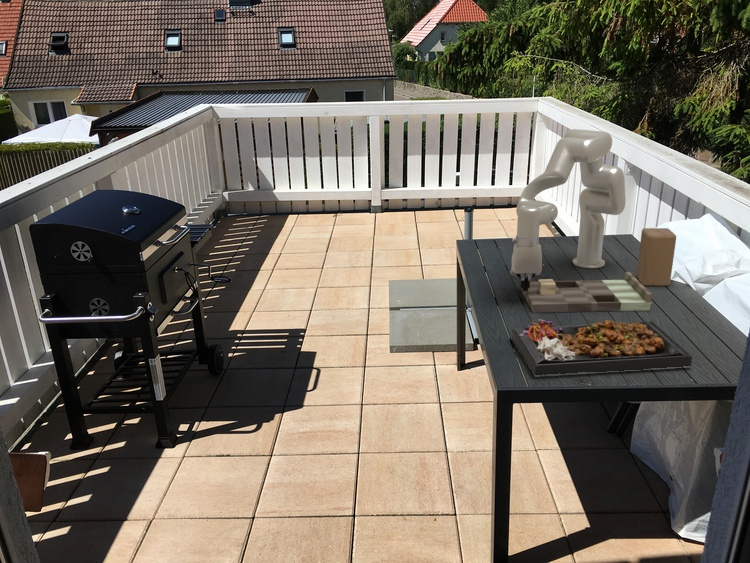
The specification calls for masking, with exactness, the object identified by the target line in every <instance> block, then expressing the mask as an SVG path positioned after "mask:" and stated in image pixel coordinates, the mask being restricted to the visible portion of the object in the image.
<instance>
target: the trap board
mask: <svg viewBox="0 0 750 563" xmlns="http://www.w3.org/2000/svg"><path fill="white" fill-rule="evenodd" d="M553 281H554V282H555V284H556V288H555V295H540V293H539V291H538V281H530V288H528V291H523V290H522V288H521V287H520V291H521V294H522V295H523V298H524V299H525V301H526V302H527V305H528V307H529V309H530V308H531V309H530V311H531V310H532V311H531V312H534V314H535V313H572V312H573V313H577V312H580V313H582V312H583V313H584V312H585V313H586V312H623V311H624V312H625V311H626V312H632V311H633V312H635V311H651V304H652V296H653V293H651V291H649V289H647V288H646V287H645V285H643V284H642V283H641V282H640V280H639V279H638V278H637V277H636V276H635V275H634V274H632V273H631V272H630V271H625V275H624V279H601V280H600V279H597V280H596V279H595V280H594V279H593V280H591V279H590V280H587V279H586V280H585V279H584V280H553Z"/></svg>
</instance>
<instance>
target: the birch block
mask: <svg viewBox="0 0 750 563" xmlns="http://www.w3.org/2000/svg"><path fill="white" fill-rule="evenodd" d="M554 281H555V280H554V279H553V278H548V279H547V278H545V279H542V278H541V279H538V291H539V293H540V295H555V288H556V284H555V282H554Z"/></svg>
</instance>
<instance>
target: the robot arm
mask: <svg viewBox="0 0 750 563" xmlns="http://www.w3.org/2000/svg"><path fill="white" fill-rule="evenodd" d="M612 146H613V137H612V135H611V134H610V133H609V132H606V131H600V130H590V129H589V130H588V129H580V128H579V129H577V128H573V129H572V128H571V129H570V130H567V131H566V132H565V134H564V137H563V138H560V139H559V140H558V141H557V143H556V145H555V148H554V149H553V152H552V154H551V156H550V159H549V161H548V163H547V165H546V167H545V170H544V172H543V173H541V174H540V175H539V176H536V177H535V178H534V179H533V180H532V181H530V182H529V183H528V184H527V185H526V186H525V187H524V189H523V190H522V193H521V194H520V197H519V199H518V202H517V204H516V212H515V213H516V216H517V223H516V224H517V225H516V227H517V228H516V236H515V237H512V240H511V241H512V243H514V244H513V249H512V256H511V262H510V269H511V270H510V272H509V273H510V275H511V276H513V277H518V278H519V279H520V286H519V287H520V289H521V288H522V290H523V291H528V288H530V282H532V279H533V278H534V277H536V276H540V275H541V274H542V271H543V270H542V269H543V262H542V261H543V260H542V258H543V254H542V245H541V244H540V243H539V241H540V240H539V239H540V238H539V237H540V226H541V225H549V224H551V223H553V222H554V221H555V220H556V219H557V217H558V212H559V210H558V207H557V205H555V204H554V203H552V202H549V201H542V200H535V198H536V196H538V195H539V194H541V193H542V192H543V191H546V190H549V189H552V188H556V187H559V186H562V185H564V184H566V183H567V182H568V180H569V177H570V174H571V172H572V170H573V167H574V166H575V164H576V163H579V171H580V178H581V179H580V180H581V184H582V186H584V187H585V188H584V189H583V190H582V191H581V192H580V195H579V197H578V198H579V199H578V201H579V212H580V213H579V214H580V216H579V217H580V218H579V230H578V242H577V252H576V253H577V254H576V257H575V258H573V259H572V263H573V265H574V266H576V267H578V268H579V267H580V268H584V269H598V268H599V269H601V268H602V267H604V266H605V264H606V261H605V260H604V259H603V258H602V254H603V245H604V243H603V242H604V235H605V233H604V232H605V220H604V217H603V215H604V214H605V215H609V216H619V215H621V214H622V213H623V212H624V210H625V206H626V185H625V184H626V183H625V182H626V181H625V174H624V171H623V169H622V168H621V167H619V166H615V165H610V164H609V165H608V164H605V163H604V159H603V157H605V156H606V155H607V154H608V153H609V152H610V151H611V149H612ZM525 274H526V277H525Z"/></svg>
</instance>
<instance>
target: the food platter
mask: <svg viewBox="0 0 750 563" xmlns="http://www.w3.org/2000/svg"><path fill="white" fill-rule="evenodd" d="M534 314H535V316H536V318H537V321H538V323H535V322H534V323H533V325H527V326H521V327H520V328H511V329H512V330H511V341H512V340H513V341H512V343H513V342H514V343H515V345H516V346H517V348H518V350H519V351H520V353H521V355H522V356H523V358H524V359H525V361H526V362H527V364H528V365H529V367H530V368H531V370H532V371H533V373H534V374H535V375H543V374H544V375H546V374H559V373H560V374H566V373H578V372H607V371H624V370H643V369H649V368H667V367H683V366H692V361H693V355H691V354H690V353H689V352H688V351H686V350H685V349H684V348H683V347H682V346H681V345H680V344H679V343H677V342H676V340H674V339H673V338H672V337H670V335H668V334H667V333H666V331H664V330H662V329H661V327H659V326H658V325H657V324H656V323H655V322H654V321H652V320H647V321H646V320H642V321H631V322H629V321H628V322H626V321H625V322H618V321H614V320H612V319H611V320H609V319H606V320H604V321H603V323H602V322H601V321H598V322H594V323H590V324H577V325H576V324H574V325H559V326H558V325H557V326H555V325H556V323H553V321H552V320H548V321H546V320H544V319H540V318H539V317H538V315H537V314H536V313H534ZM531 323H532V322H531V321H530V324H531ZM514 343H513V344H514ZM515 345H514V346H515ZM516 346H515V347H516ZM517 348H516V349H517ZM518 350H517V351H518ZM519 351H518V352H519ZM520 353H519V354H520ZM521 355H520V356H521ZM522 356H521V357H522ZM523 358H522V359H523ZM525 361H524V362H525ZM527 364H526V365H527Z"/></svg>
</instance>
